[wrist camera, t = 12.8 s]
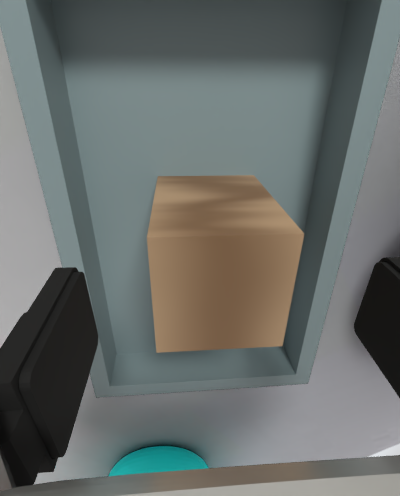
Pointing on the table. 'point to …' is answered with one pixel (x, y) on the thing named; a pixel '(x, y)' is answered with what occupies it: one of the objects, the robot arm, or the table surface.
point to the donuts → (158, 461)
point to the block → (220, 263)
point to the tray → (197, 150)
